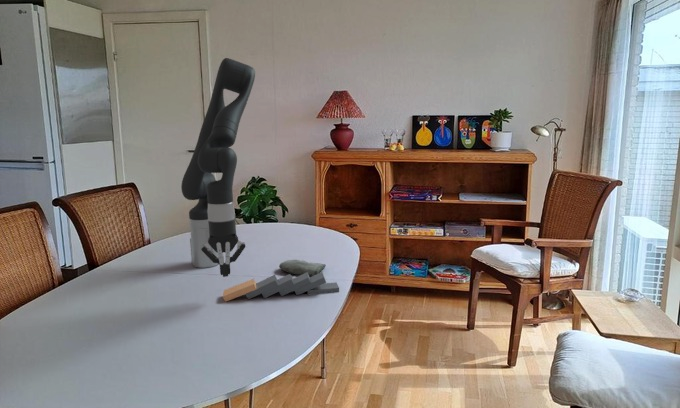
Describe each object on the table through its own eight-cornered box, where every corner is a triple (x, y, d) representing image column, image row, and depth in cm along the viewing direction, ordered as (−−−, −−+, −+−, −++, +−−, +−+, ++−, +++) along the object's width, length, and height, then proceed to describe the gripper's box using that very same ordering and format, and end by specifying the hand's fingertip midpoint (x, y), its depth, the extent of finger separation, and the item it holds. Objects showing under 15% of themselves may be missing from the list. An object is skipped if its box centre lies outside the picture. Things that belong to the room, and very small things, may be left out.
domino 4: (278, 291, 148) (308, 277, 148) (278, 285, 153) (307, 272, 153) (281, 296, 148) (310, 282, 149) (281, 290, 153) (309, 277, 154)
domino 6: (307, 290, 149) (339, 287, 151) (305, 284, 154) (336, 282, 156) (307, 296, 150) (339, 293, 151) (306, 290, 155) (336, 287, 156)
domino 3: (261, 293, 147) (291, 279, 148) (261, 287, 152) (290, 273, 152) (264, 298, 147) (293, 284, 148) (264, 292, 152) (292, 278, 153)
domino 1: (222, 296, 145) (253, 284, 146) (223, 290, 150) (253, 278, 151) (225, 301, 145) (256, 289, 146) (225, 295, 150) (256, 283, 151)
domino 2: (245, 294, 146) (275, 280, 147) (245, 288, 151) (274, 274, 152) (248, 299, 147) (278, 285, 147) (248, 293, 152) (277, 279, 152)
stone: (274, 273, 169) (315, 283, 165) (274, 262, 167) (316, 272, 163) (287, 260, 179) (326, 270, 175) (287, 250, 177) (327, 259, 173)
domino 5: (294, 290, 149) (323, 277, 149) (293, 284, 153) (322, 271, 154) (296, 295, 149) (326, 282, 149) (295, 289, 154) (324, 277, 154)
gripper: (196, 222, 138) (201, 282, 142) (245, 219, 141) (248, 278, 144) (198, 216, 146) (203, 273, 149) (245, 213, 148) (248, 270, 151)
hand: (225, 275), depth 147 cm, fingers closed
